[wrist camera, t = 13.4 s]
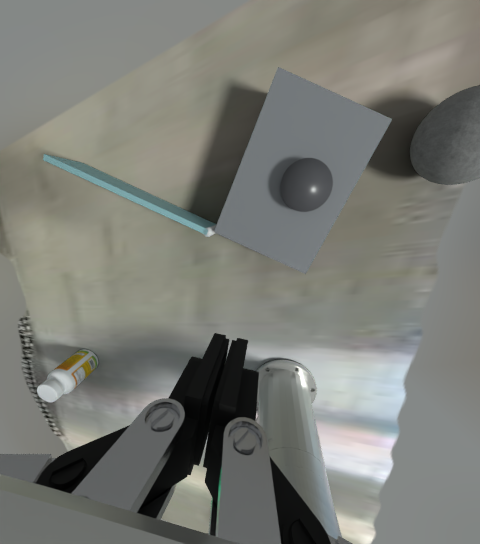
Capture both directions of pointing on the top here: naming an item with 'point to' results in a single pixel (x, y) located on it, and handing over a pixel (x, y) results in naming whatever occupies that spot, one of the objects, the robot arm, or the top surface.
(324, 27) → the top surface
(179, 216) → the door
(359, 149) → the grey box with knob
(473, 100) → the decorative ball
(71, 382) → the supplement bottle
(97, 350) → the top surface
